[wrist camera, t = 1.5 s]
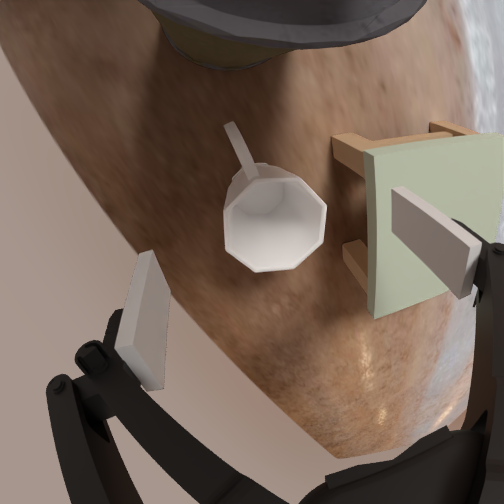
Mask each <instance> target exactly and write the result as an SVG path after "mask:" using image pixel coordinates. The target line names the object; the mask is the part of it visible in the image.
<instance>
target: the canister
mask: <svg viewBox="0 0 504 504" xmlns="http://www.w3.org/2000/svg"><path fill="white" fill-rule="evenodd" d="M138 1H139V2H140V3H142V4H143V5H145V6H146V7H147V8H149V9H150V10H151V11H152V13H153V14H154V15H155V17H156V18H157V19H158V21H159V22H160V24H161V25H162V27H163V31H164V33H165V35H166V37H167V39H168V41H169V42H170V43H171V45H172V46H173V47H174V48H175V49H176V51H177V52H179V53H180V54H181V55H182V56H184V57H185V58H187V59H188V60H190V61H191V62H193V63H196V64H198V65H201V66H204V67H207V68H211V69H216V70H228V71H233V70H240V69H245V68H250V67H253V66H256V65H258V64H261V63H263V62H265V61H267V60H269V59H270V58H272V57H273V56H277V55H280V54H283V53H286V52H290V51H293V50H297V49H301V50H303V49H319V48H331V47H342V46H347V45H351V44H356V43H361V42H365V41H368V40H371V39H373V38H376V37H380V36H383V35H386V34H387V33H389V32H391V31H392V30H394V29H396V28H398V27H399V26H401V25H403V24H404V23H406V22H408V21H409V20H410V19H411V18H412V17H413V16H414V15H415V14H416V13H417V12H418V11H419V10H420V9H421V8H422V7H423V6H424V5H425V3H426V1H427V0H138Z"/></svg>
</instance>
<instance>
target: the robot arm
mask: <svg viewBox="0 0 504 504" xmlns="http://www.w3.org/2000/svg"><path fill="white" fill-rule="evenodd" d="M391 204H392V230H391V232H392V233H393V234H394V235H396V236H397V237H398V238H399V239H400V240H401V241H402V242H403V243H404V244H405V245H406V246H407V247H408V248H409V249H410V250H411V251H412V252H413V253H414V254H415V255H416V256H417V257H418V258H419V259H420V260H421V261H422V262H423V263H424V264H425V265H426V266H427V267H428V268H429V269H430V270H431V271H432V272H433V273H434V274H435V275H436V276H437V277H438V278H439V279H440V280H441V281H442V282H443V283H444V284H445V285H446V286H447V287H448V288H449V289H450V290H451V292H452V293H453V294H454V295H455V296H456V297H457V298H458V299H461V298H463V297H466V296H468V295H470V294H471V290H472V287H473V283H474V284H475V285H476V286H477V287H478V290H477V294H476V297H475V301H474V304H473V307H475V305H476V333H475V349H474V361H473V370H472V379H471V387H470V394H469V400H468V406H467V412H466V417H465V420H464V423H463V425H462V428H461V430H454V431H449V429H448V427H447V425H446V426H444V427H442V428H440V429H438V430H437V431H435V432H433V433H431V434H429V435H427V436H425V437H423V438H421V439H419V440H418V441H417V442H416V443H414V444H413V445H412V446H411V447H409V448H408V449H407V450H406V451H404V452H403V453H402V454H400V455H399V456H398V457H396V458H395V459H393V460H389V461H383V462H376V463H370V464H362V465H357V466H354V467H351V468H348V469H345V470H342V471H339V472H336V473H333V474H329V475H326V476H325V483H322V484H321V485H319V486H317V487H316V488H315V489H313V490H312V491H311V492H309V493H308V494H307V495H306V496H305V497H304V498H303V499H302V500H301V501H300V503H299V504H504V244H501V243H491V244H490V243H488V242H487V241H486V240H485V239H483V238H482V237H481V236H479V235H478V234H477V233H475V232H473V230H471V229H470V228H468V227H467V226H466V225H465V224H463V223H462V222H460V221H458V220H455V219H453V218H451V219H450V218H449V217H447V216H446V215H445V214H443V213H442V212H440V211H439V210H438V209H436V208H435V207H433V206H432V205H430V204H429V203H427V202H426V201H424V200H423V199H421V198H420V197H418V196H417V195H415V194H414V193H412V192H411V191H409V190H408V189H406V188H405V187H403V186H400V187H395V188H391ZM170 294H171V291H170V288H169V286H168V284H167V282H166V279H165V277H164V275H163V273H162V270H161V268H160V266H159V263H158V261H157V259H156V256H155V254H154V252H153V250H149V251H146V252H142V253H139V256H138V259H137V263H136V266H135V269H134V273H133V276H132V280H131V283H130V288H129V291H128V294H127V298H126V302H125V306H124V308H123V309H118V310H115V311H114V313H113V314H112V316H111V317H110V318H109V322H108V325H107V329H106V332H105V336H104V340H103V343H102V342H100V341H98V340H97V341H96V340H93V341H89V342H87V343H85V344H84V345H82V346H81V347H80V348H79V349H78V351H77V353H76V355H75V363H76V364H77V366H78V367H79V368H80V369H81V370H82V372H83V373H84V374H85V375H83V376H81V377H79V378H76V379H74V380H72V379H71V378H70V377H69V376H68V375H66V374H60V375H58V376H56V377H54V378H53V379H52V380H51V381H50V382H49V384H48V386H47V388H46V396H47V404H48V410H49V416H50V421H51V427H52V432H53V437H54V442H55V446H56V451H57V455H58V459H59V462H60V466H61V471H62V474H63V478H64V481H65V485H66V488H67V491H68V494H69V497H70V501H71V503H72V504H143V502H142V500H141V498H140V496H139V494H138V492H137V490H136V488H135V486H134V484H133V482H132V480H131V478H130V476H129V474H128V471H127V469H126V467H125V465H124V462H123V460H122V458H121V456H120V453H119V451H118V448H117V446H116V443H115V441H114V438H113V436H112V434H111V431H110V428H109V426H108V423H107V420H106V419H108V418H111V417H113V416H117V418H118V419H119V420H120V421H121V423H122V424H123V425H124V426H125V428H126V429H127V430H128V431H129V432H130V433H131V435H132V436H133V437H134V438H135V439H136V440H137V442H139V444H140V445H141V446H142V447H143V448H144V449H145V450H146V452H147V453H148V454H149V455H150V456H151V457H152V458H153V459H154V460H155V461H156V462H157V463H158V464H159V465H160V466H161V467H162V468H163V469H164V470H165V471H166V473H167V474H168V475H169V476H171V477H172V478H173V479H174V480H175V481H176V482H177V483H178V484H179V485H180V486H181V487H182V488H183V489H184V490H185V491H186V492H187V493H188V494H190V495H191V496H192V497H193V498H194V499H195V500H196V501H197V502H198V503H200V504H289V503H287V502H286V501H284V500H283V499H281V498H279V497H278V496H276V495H275V494H273V493H271V492H270V491H268V490H267V489H265V488H264V487H262V486H261V485H259V484H258V483H256V482H255V481H253V480H252V479H250V478H249V477H247V476H245V475H243V474H241V473H239V472H238V471H236V470H235V469H234V468H233V467H231V466H230V465H229V464H227V463H226V462H225V461H223V460H222V459H221V458H219V457H218V456H217V455H216V454H214V453H213V452H212V451H210V450H209V449H208V448H207V447H205V446H204V445H203V444H202V443H201V442H199V441H198V440H197V439H196V438H195V437H193V436H192V435H191V434H190V433H189V432H188V431H186V430H185V429H184V428H183V427H182V426H181V425H180V424H179V423H177V422H176V421H175V420H174V419H173V418H172V417H171V416H170V415H169V414H168V413H166V412H165V411H164V410H163V409H162V408H161V407H160V406H159V405H158V404H157V403H156V402H155V401H154V400H153V399H152V398H151V397H150V396H149V395H148V394H147V393H146V392H145V391H144V390H143V389H142V388H141V387H140V386H141V385H142V386H143V387H144V388H145V390H146V391H154V390H161V389H164V374H165V373H164V372H165V356H166V341H167V328H168V315H169V304H170Z"/></svg>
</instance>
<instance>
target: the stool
mask: <svg viewBox="0 0 504 504" xmlns="http://www.w3.org/2000/svg"><path fill="white" fill-rule="evenodd" d="M331 139H332V147H333V155H334V158H335V159H337V160H338V161H340V162H341V163H343V164H344V165H346V166H347V167H349V168H350V169H351V170H353V171H354V172H356V173H357V174H359V175H360V176H362V177H363V178H364V179H365V184H366V202H367V230H368V248H367V247H366V246H365V245H364V243H363V242H362V241H361V240H360V239H358V240H355V241H351V242H348V243H344V244H342V251H343V261H344V262H345V264H346V265H347V267H348V268H349V269H350V271H351V272H352V274H353V275H354V277H355V278H356V280H357V281H358V282H359V284H360V285H361V287H362V288H363V290H364V291H365V293H366V294H367V309H368V311H369V313H370V314H371V316H372V317H373V319H377V318H380V317H382V316H385V315H388V314H391V313H393V312H396V311H399V310H401V309H404V308H407V307H409V306H412V305H414V304H417V303H419V302H422V301H425V300H427V299H429V298H432V297H434V296H437V295H439V294H442V293H444V292H446V291H449V290H450V289H449V288H448V287H447V286H446V285H445V284H444V283H443V282H442V281H441V280H440V279H439V278H438V277H437V276H436V275H435V274H434V273H433V272H432V271H431V270H430V269H429V268H428V267H427V266H426V265H425V264H424V263H423V262H422V261H421V260H420V259H419V258H418V257H417V256H416V255H415V254H414V253H413V252H412V251H411V250H410V249H409V248H408V247H407V246H406V245H405V244H404V243H403V242H402V241H401V240H400V239H399V238H398V237H397V236H396V235H394V234H393V233H392V232H391V230H392V204H391V188H395V187H400V186H403V187H405V188H406V189H408V190H409V191H411V192H412V193H414V194H415V195H417V196H418V197H420V198H421V199H423V200H424V201H426V202H427V203H429V204H430V205H432V206H433V207H435V208H436V209H438V210H439V211H440V212H442V213H443V214H445V215H446V216H447V217H449V218H450V219H451V218H453V219H455V220H458V221H460V222H462V223H463V224H465V225H466V226H467V227H468V228H470V229H471V230H473V232H475V233H477V234H478V235H479V236H481V237H482V238H483V239H485V240H486V241H487V242H488V243H490V244H491V243H495V239H496V234H497V229H498V224H499V218H500V212H501V206H502V199H503V192H504V135H501V134H499V133H496V132H495V133H484V134H480V133H478V132H475V131H472V130H469V129H467V128H464V127H461V126H458V125H455V124H452V123H449V122H446V121H437V122H430V133H426V134H418V135H411V136H404V137H397V138H390V139H383V140H377V141H370V140H368V139H366V138H364V137H361V136H359V135H357V134H354V133H352V132H351V133H345V134H339V135H334V136H331Z"/></svg>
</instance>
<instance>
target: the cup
mask: <svg viewBox="0 0 504 504" xmlns="http://www.w3.org/2000/svg"><path fill="white" fill-rule="evenodd" d="M223 126H224V129H225V131H226V133H227V135H228V137H229V139H230V141H231V143H232V146H233V148H234V150H235V152H236V154H237V156H238V159H239V161H240V163H241V165H242V168H241V169H240V170H239V171H238V172H237V173H236V174H235V175H234V176H233V177H232V183H231V184H230V186H229V187H228V190H227V196H226V200H225V204H224V210H223V217H224V237H225V251H227V252H228V253H229V254H231V255H232V256H233V257H235V258H236V259H237V260H239V261H240V262H241V263H243V264H244V265H246V266H247V267H248V268H250V269H251V270H252V271H254V272H255V273H256V272H267V271H278V270H288V269H294V268H296V267H297V266H298V265H299V264H300V263H301V262H302V261H303V260H304V259H306V258H307V257H308V256H309V255H310V254H311V253H312V252H313V251H314V250H316V249H317V248H318V247H319V246H320V245H321V244H322V243H323V239H324V230H325V221H326V211H327V205H326V204H325V203H324V202H323V201H322V199H321V198H320V197H319V196H318V195H317V194H316V193H315V192H314V191H313V190H312V189H311V188H310V187H309V186H308V185H307V184H306V183H305V182H304V181H303V180H302V179H301V178H300V177H298V176H297V175H295V174H292V173H290V172H288V171H286V170H284V169H282V168H280V167H278V166H270V165H268V164H267V163H254V161H253V158H252V156H251V154H250V152H249V150H248V148H247V145H246V143H245V141H244V139H243V137H242V135H241V133H240V131H239V130H238V128H237V126H236V124H235V123H234V121H231V122H229V123H227V124H225V125H223Z"/></svg>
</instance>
